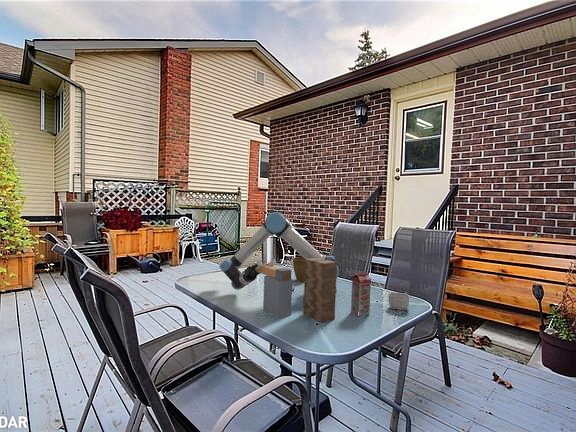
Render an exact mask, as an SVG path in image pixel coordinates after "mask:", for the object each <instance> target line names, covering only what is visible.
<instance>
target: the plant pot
mask: <svg viewBox="0 0 576 432" xmlns="http://www.w3.org/2000/svg"><path fill="white" fill-rule="evenodd" d="M292 267H293V271H294V276H295V278H296V281H297V282H304V283H305V259H304V258H303V257H302V256H297V257H296V256H295V257H292Z"/></svg>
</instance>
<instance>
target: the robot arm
mask: <svg viewBox="0 0 576 432" xmlns="http://www.w3.org/2000/svg"><path fill="white" fill-rule="evenodd" d="M273 235H275V236H276V237H277V238H278V239H283V240H284V241H285V242H286V243H287V244H288V245H289V247H292V248H293V250H294V251H295V252H297V253H298V254H299V255H300V257H303V258H304V259H311V258H320V259H324V260H329V261H333V262H336V257H335V256H334V255H326V254H321V253H320V252H319V250H317V249H316V248H315V246H313V245H312V244H311V243H310V242H308V241H307V240H306V238H304V237H303V236H302V235H301V234H300V233H299V232H298V231H297V230H295V228H294V227H293V224H292V222H291V221H289V219H288V218H286V217H285V215H284V214H283V213H282V212H280V211H272V212H270V213H269V214H268V215H267V216H266V218H265V221H264V222H263V223H262V224H261V226H260V228H259V229H258V231H256V232H255V233H254V234H253V236H251V237H250V238H249V239H248V240H247V241H246V242H245V244H243V246H242V247H240V248H239V249H238V251H237V252H236V253H234V255H232V257H231V258H226V259H224V261H222V262H221V263H220V264H219V265H218V266H219V269H220V270H221V272H223V274H225V275H226V277H227V278H228V279H229V280H230V281H231V283H230V284H231V287H232V288H233V289H234V290H237V291H239V290H241V289H244V288H245V287H246V286H249V284H251V283H252V282H254V281H256V279H257V278H258V275H260V274H262V273H259V272H256V270H257V269H258V268H260V267H261V266H262V264H263V261H262V260H261V259H260V260H258V261H257V262H256V263H255V264H253V265H251V266H250V265H249V266H247V267H246V269H244V270H243V271H242V272H241V271H240V270H239V268H240V267H241V266H242V265H243V264H244V262H246V261H247V260H248V258H250V257H251V256H252V255H253V254H254V252H256V250H257V249H259V248H260V246H261V245H262V244H263V243H264V242H265V241H266V240H267V239H268V238H270V237H271V236H273ZM276 264H277V261H276V259H275V258H274V259H272V260H270V261H269V262H267V264H266V265H269V266H272V267H275V266H276ZM339 275H340V269H339V266H338V265H337V272H336V280H337V278H338V277H339ZM336 293H337V288H336Z"/></svg>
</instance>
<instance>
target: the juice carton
mask: <svg viewBox="0 0 576 432" xmlns="http://www.w3.org/2000/svg"><path fill="white" fill-rule="evenodd" d="M351 279H352V281H351V298H350V299H351V303H350V313H351V312H352V313H351V314H353V315H354V314H355V315H354V316H356V315H357V316H356V317H358V312H359V316H361V317H365V316H364V315H368V316H370V306H371V287H372V285H371V284H372V279H371V277H370V276H369V275H368V271H355V275H353V276H351Z"/></svg>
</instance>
